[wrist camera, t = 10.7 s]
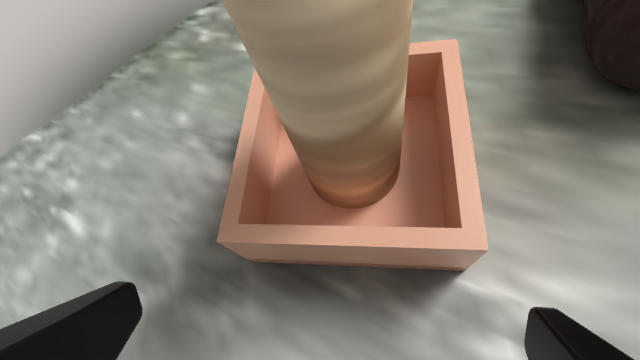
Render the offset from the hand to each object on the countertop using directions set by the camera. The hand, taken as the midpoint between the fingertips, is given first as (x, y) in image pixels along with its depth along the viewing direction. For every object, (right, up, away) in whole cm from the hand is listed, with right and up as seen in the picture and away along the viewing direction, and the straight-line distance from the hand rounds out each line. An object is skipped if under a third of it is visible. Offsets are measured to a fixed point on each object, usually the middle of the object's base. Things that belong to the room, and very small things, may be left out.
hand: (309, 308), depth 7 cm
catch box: (+2, +3, +11) cm, 12 cm away
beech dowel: (+2, +4, +10) cm, 11 cm away
